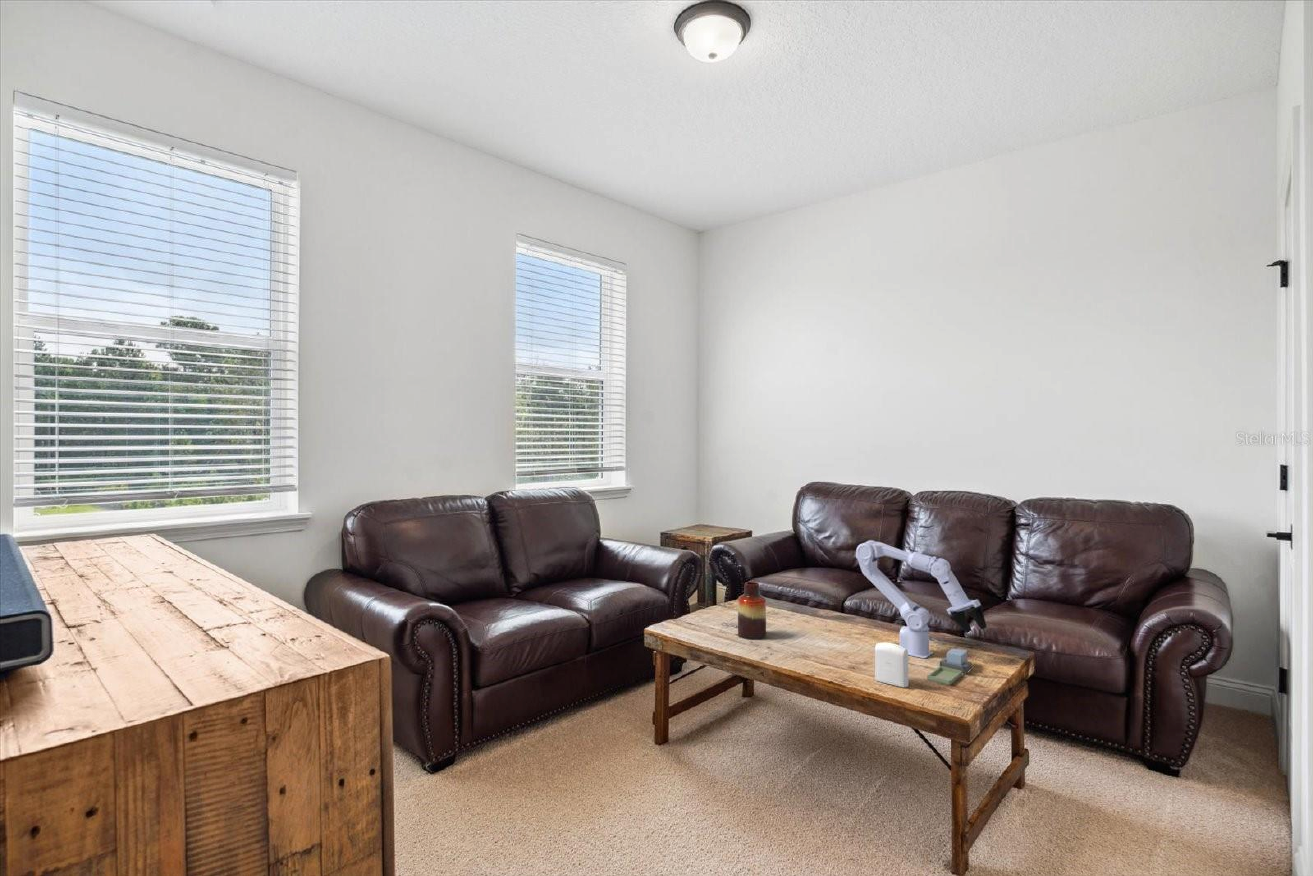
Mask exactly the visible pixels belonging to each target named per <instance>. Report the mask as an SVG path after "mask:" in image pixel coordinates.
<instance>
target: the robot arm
mask: <svg viewBox="0 0 1313 876" xmlns="http://www.w3.org/2000/svg"><path fill="white" fill-rule="evenodd" d="M880 557H887V558H888V557H890V558H893V559H895V560H899V561H902V562H906V563H908V565H909V567H911V568H913V569H916V570H918V571H921V572H924V573H928V574H930V575H931V576H932V577H933V578H935V579H936V580H937V582H938V583H939V586H940V587H941V590H943V592H944V594H945V595H946V597H947V599H948V601H949V602H950V604H951V606H950V607H948V608H947V609H946V612H947V614H948V615H950V616H949V619H950V620H952V621H953V622H955V623H956V624H957V625H958V626H959V627H961V629H962V631H964V633H966V634H968V633H969V632H971V631H972V627H971V625H970V623H969V621H968V619H967V617H966V616H967V615H969V616H970V617H971V618H972V619H973V620H974V621H975V623H976V625H977V626H978V627H979V628H980V630H981V631H982V630H984V629H986V628H987V627H988V626H987V623H986V620H985V616H984V605H983V604H981V602H980V600H979V599H974V600H973V599H969V597H968V596H967V594H966V592H965V591H964V590H963V588H962V586H961V584H960V583H959V581H958V579H957V577H956V576H955V574H954V573H953V571H952V570H951V564H950V563H949V561H948V560H946V559H944V558H942V557H940V558H937V556H934V555H933V556H930V555H927V554H924V553H923V551H922V550H918V551H913V552H911V553H910V552H907V551H905V550H902V549H900V548H897V547H894V546H891V545H889V544H886V543H883V542H882V541H876V540H873V539H869V540H867V541H865V542H863V543H860V544H859V545H858V546H857V547H856V550H855V558H856V559H857V561H858V564H859V567H860V571H861V573H862V574H863V575H864V577H866V578H867V580H868V581H870V582H871V583H872V584H873V586H875V587H876V589H878V590H879V592H881V594H882V595H884V597H885V598H887V599H888V600H889V602H891V604H892V605H894V606H895V608H897V610H898V611H899V613H900V616H901V617H902V619H903V620H904V621H905V624H906V626H905V625H902V626H901V628H900V631H899V634H898V635H899V639H898V640H899V644H898V645H899V646H902V647H904V648H905V649H907V651H908V656H911V657H917V658H919V659H920V658H921V659H927V658H929V657H930V656H931V655H933V654H934V651H930V628H929V626H928V623H929V622H930V620H931V614H930V612H929V611H928V610H927V609H926V608H925V607H922V606H920V605H919V604H917V602H914V601H912V600H911V599H910V598H909V597H908V596H907V595H905V593H903V592H902V590H901V589H899V588H898V587H897V586H896V585H895V584H894V583H893V582H892V581H891V580H890V579H889V578H888V576H886V575H885V574H884V573H883V572H882V571H881V570H880V569H879V568H878V559H879V558H880ZM966 610H967V611H966ZM965 611H966V613H967V615H966V613H965Z"/></svg>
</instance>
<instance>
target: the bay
mask: <svg viewBox="0 0 1313 876" xmlns="http://www.w3.org/2000/svg"><path fill="white" fill-rule="evenodd" d="M939 666H942V667H947V668H951V669H956V670H960V671H962V673H963V674H966V673H967V674H968V673H969V672H970V671H971V670H972V661H969V660H967V663H966V664H964V665H963V666H962V665H957V664H953V663H948V662H947V656H945V657H944V658H942V659H940V661H939ZM970 669H971V670H970ZM969 670H970V671H969ZM968 671H969V672H968ZM963 674H962V675H963ZM967 674H966V675H967Z"/></svg>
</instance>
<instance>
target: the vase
mask: <svg viewBox="0 0 1313 876" xmlns="http://www.w3.org/2000/svg"><path fill="white" fill-rule="evenodd" d="M760 592H761V591H760V584H759V582H757V581H746V582H745V583H744V593H743V594H742V595H740V596H738V597H737V636H738V637H739V636H740V637H739V638H741V637H742V638H741V639H744V640H749V639H750V641H755V640H757V641H758V640H762V638H763V639H765V638H766V637H767V599H766V597H765V596H764V595H761V593H760ZM765 636H766V637H765ZM764 637H765V638H764Z"/></svg>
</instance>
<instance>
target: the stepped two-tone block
mask: <svg viewBox="0 0 1313 876" xmlns="http://www.w3.org/2000/svg"><path fill="white" fill-rule="evenodd" d="M946 657H947V662H948V663H953V664H957V665H962V666H963V665H964V664H966V663H967V662H968V649H964V648H959V647H957V648H953V647H952V648H951V649H950V650H948V651H947V652H946Z"/></svg>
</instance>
